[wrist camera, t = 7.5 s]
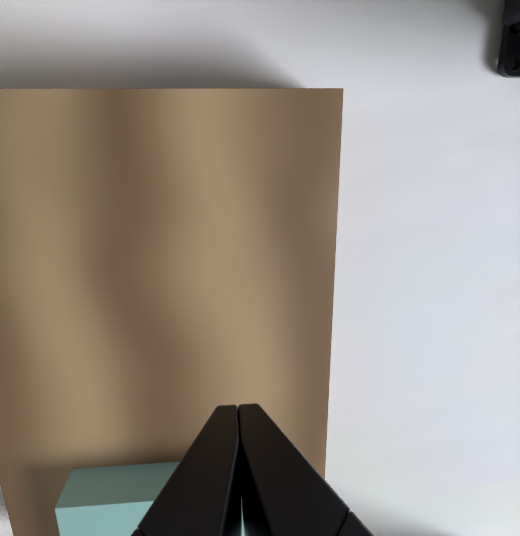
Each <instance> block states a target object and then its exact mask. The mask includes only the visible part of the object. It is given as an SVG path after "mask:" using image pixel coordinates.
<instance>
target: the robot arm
mask: <svg viewBox="0 0 520 536" xmlns="http://www.w3.org/2000/svg"><path fill="white" fill-rule="evenodd" d="M503 21H504V28H503V35H502V41H501V48H500V55H499V62H498V71H499V73H500V75H502V76H503V77H506V78H520V0H505V6H504V13H503ZM511 59H513V60H514V62H515V66H514V68H513V69H512V70H511V68H510V66H509V63H510V60H511ZM241 499H242V501H241ZM242 516H243V526H244V534H245V536H374V535H373V534H372V533H371V532H370V531H369V530H368V529H367V528H366V527H365V525H364V524H363V523H362V522H361V521H360V520H359V519H358V517H357V516H356V515H355V514H354V513H353V512H351V511H350V509H349V507H348V506H347V505H346V504H345V503H344V501H343V500H342V499H341V498H340V497H339V496H338V495H337V493H336V492H335V491H334V490H333V489H332V488H331V487H330V485H329V484H328V483H327V482H326V481H325V480H324V479H323V477H322V476H321V475H320V474H319V473H318V472H317V470H316V469H315V468H314V467H313V466H312V465H311V464H310V462H309V461H308V460H307V459H306V458H305V457H304V456H303V454H302V453H301V452H300V451H299V450H298V449H297V447H296V446H295V445H294V444H293V443H292V442H291V441H290V439H289V438H288V437H287V436H286V435H285V434H284V433H283V431H282V430H281V429H280V428H279V427H278V426H277V425H276V423H275V422H274V421H273V420H272V419H271V418H270V416H269V415H268V414H267V413H266V412H265V411H264V410H263V408H262V407H261V406H260V405H259V404H257V403H250V404H240V405H239V406H238V407H237V406H236V405H219V406H217V407H216V408H215V410H214V411H213V413H212V414H211V416H210V417H209V419H208V420H207V422H206V423H205V425H204V426H203V428H202V429H201V431H200V432H199V434H198V435H197V437H196V438H195V440H194V441H193V443H192V444H191V446H190V447H189V449H188V450H187V452H186V453H185V455H184V456H183V458H182V459H181V461H180V463H179V464H178V466H177V467H176V469H175V470H174V472H173V473H172V475H171V476H170V478H169V479H168V481H167V482H166V484H165V485H164V487H163V488H162V490H161V491H160V493H159V494H158V496H157V497H156V499H155V500H154V502H153V503H152V505H151V506H150V508H149V509H148V511H147V512H146V514H145V515H144V517H143V518H142V520H141V521H140V523H139V524H138V526H137V529H135V530H134V531H133V533H132V534H131V536H241V535H242Z"/></svg>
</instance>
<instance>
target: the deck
mask: <svg viewBox="0 0 520 536" xmlns="http://www.w3.org/2000/svg"><path fill="white" fill-rule="evenodd" d="M342 105H343V88H275V89H0V483H1V487H2V491H3V495H4V499H5V503H6V507H7V511H8V515H9V519H10V523H11V527H12V531H13V535H14V536H60V532H59V527H58V522H57V517H56V513H55V507H56V505H57V502H58V500H59V498H60V495H61V493H62V491H63V489H64V486H65V484H66V482H67V480H68V477H69V475H70V473H71V470H72V469H82V468H96V467H110V466H124V465H138V464H152V463H167V462H180V461H181V459H182V458H183V456H184V455H185V453H186V452H187V450H188V449H189V447H190V446H191V444H192V443H193V441H194V440H195V438H196V437H197V435H198V434H199V432H200V431H201V429H202V428H203V426H204V425H205V423H206V422H207V420H208V419H209V417H210V416H211V414H212V413H213V411H214V410H215V408H216V407H217V406H219V405H236V406H237V407H238V406H239V405H240V404H250V403H257V404H259V405H260V406H261V407H262V408H263V410H264V411H265V412H266V413H267V414H268V415H269V416H270V418H271V419H272V420H273V421H274V422H275V423H276V425H277V426H278V427H279V428H280V429H281V430H282V431H283V433H284V434H285V435H286V436H287V437H288V438H289V439H290V441H291V442H292V443H293V444H294V445H295V446H296V447H297V449H298V450H299V451H300V452H301V453H302V454H303V456H304V457H305V458H306V459H307V460H308V461H309V462H310V464H311V465H312V466H313V467H314V468H315V469H316V470H317V472H318V473H319V474H320V475H321V476H322V477H323V479H324V480H325V460H326V439H327V419H328V398H329V377H330V356H331V335H332V314H333V293H334V272H335V252H336V231H337V210H338V189H339V168H340V147H341V126H342Z"/></svg>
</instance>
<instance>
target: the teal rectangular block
mask: <svg viewBox="0 0 520 536" xmlns="http://www.w3.org/2000/svg"><path fill="white" fill-rule="evenodd" d="M179 463H180V462H167V463H152V464H138V465H124V466H110V467H96V468H82V469H72V470H71V473H70V475H69V477H68V480H67V482H66V484H65V486H64V489H63V491H62V493H61V495H60V498H59V500H58V502H57V505H56V507H55V513H56V517H57V522H58V527H59V532H60V536H131V534H132V533H133V531H134V530H135V529H137V526H138V524H139V523H140V521H141V520H142V518H143V517H144V515H145V514H146V512H147V511H148V509H149V508H150V506H151V505H152V503H153V502H154V500H155V499H156V497H157V496H158V494H159V493H160V491H161V490H162V488H163V487H164V485H165V484H166V482H167V481H168V479H169V478H170V476H171V475H172V473H173V472H174V470H175V469H176V467H177V466H178V464H179ZM241 501H242V499H241ZM241 536H245V534H244V526H243V516H242V535H241Z"/></svg>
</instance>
